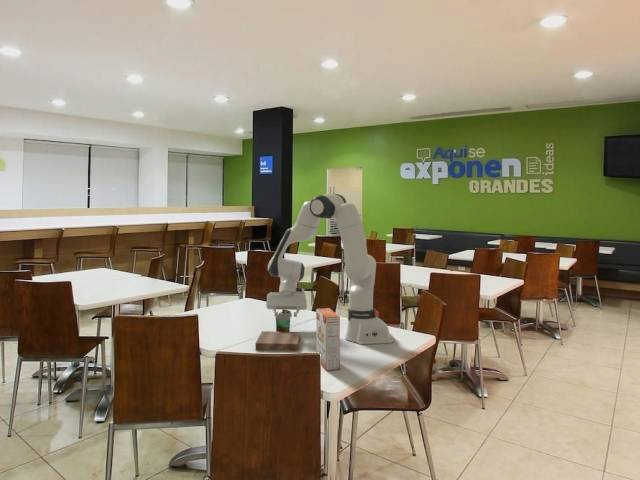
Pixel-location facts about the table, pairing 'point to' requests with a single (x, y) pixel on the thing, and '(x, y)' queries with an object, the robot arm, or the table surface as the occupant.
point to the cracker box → (328, 338)
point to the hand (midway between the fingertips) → (285, 316)
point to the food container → (283, 321)
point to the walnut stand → (278, 341)
